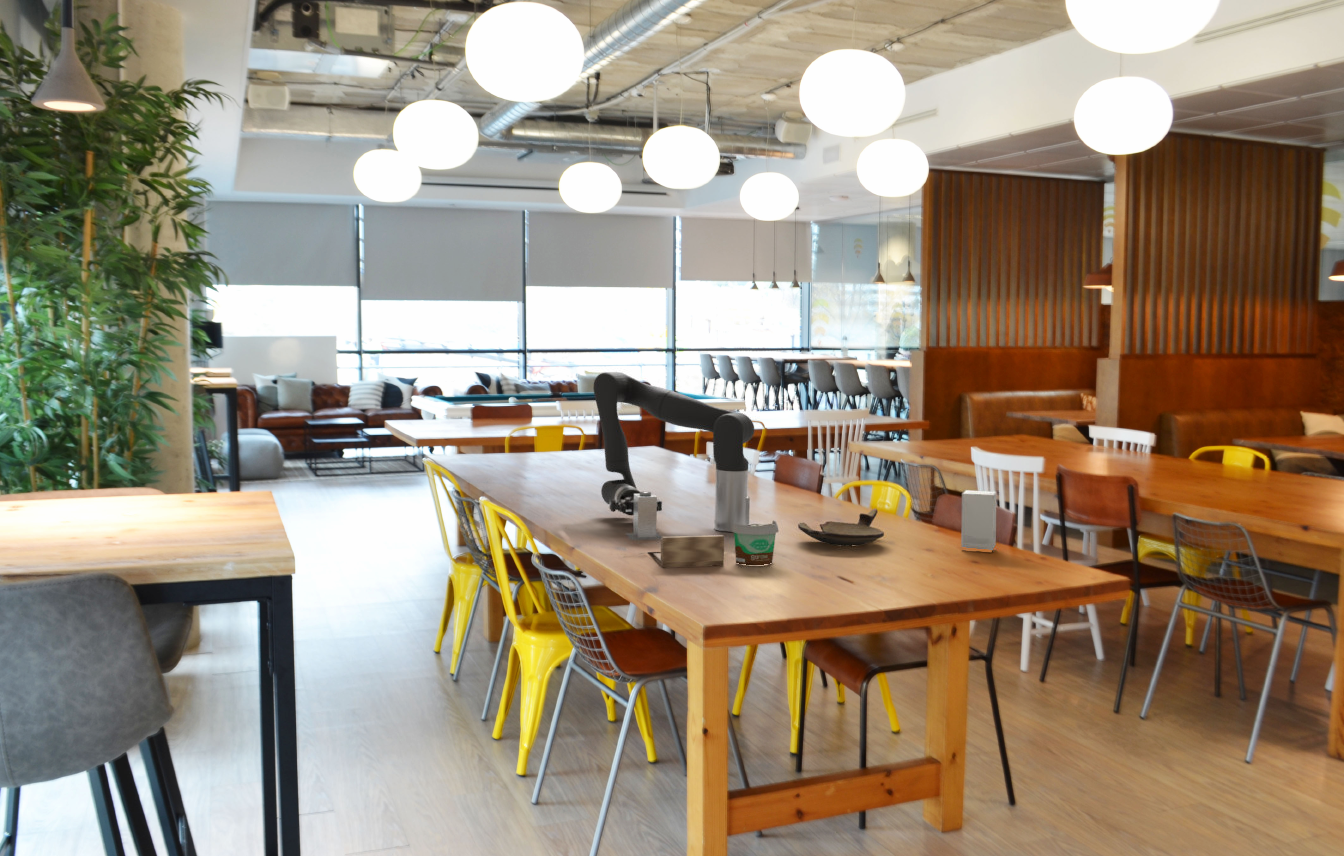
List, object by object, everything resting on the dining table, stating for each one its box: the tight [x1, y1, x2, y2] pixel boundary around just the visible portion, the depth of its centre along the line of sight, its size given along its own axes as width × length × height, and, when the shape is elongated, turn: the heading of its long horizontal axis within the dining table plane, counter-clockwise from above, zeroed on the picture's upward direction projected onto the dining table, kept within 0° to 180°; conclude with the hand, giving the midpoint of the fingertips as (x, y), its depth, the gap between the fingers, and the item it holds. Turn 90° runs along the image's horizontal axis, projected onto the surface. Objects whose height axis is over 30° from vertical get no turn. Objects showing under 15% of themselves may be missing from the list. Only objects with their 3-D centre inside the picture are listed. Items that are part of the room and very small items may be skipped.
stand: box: [624, 532, 663, 541], centre depth 279 cm, size 9×9×2 cm
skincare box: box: [960, 489, 997, 550], centre depth 276 cm, size 8×7×16 cm
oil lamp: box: [797, 508, 885, 547], centre depth 282 cm, size 22×30×8 cm
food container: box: [732, 520, 779, 565], centre depth 254 cm, size 12×6×10 cm, turn 117°
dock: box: [647, 534, 725, 568], centre depth 259 cm, size 15×19×7 cm
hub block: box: [632, 491, 658, 539], centre depth 278 cm, size 5×6×12 cm
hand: (640, 509), depth 284 cm, fingers open, 8 cm apart
